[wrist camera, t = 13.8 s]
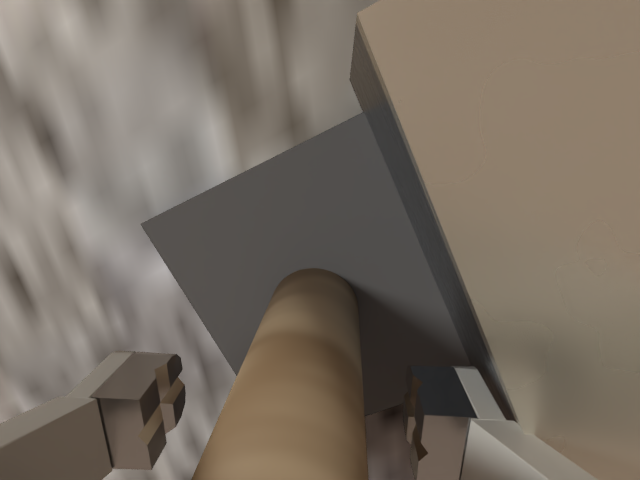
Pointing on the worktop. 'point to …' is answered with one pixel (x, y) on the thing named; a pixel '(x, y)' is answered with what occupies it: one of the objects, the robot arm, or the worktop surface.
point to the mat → (313, 255)
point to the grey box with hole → (524, 198)
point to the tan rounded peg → (296, 391)
